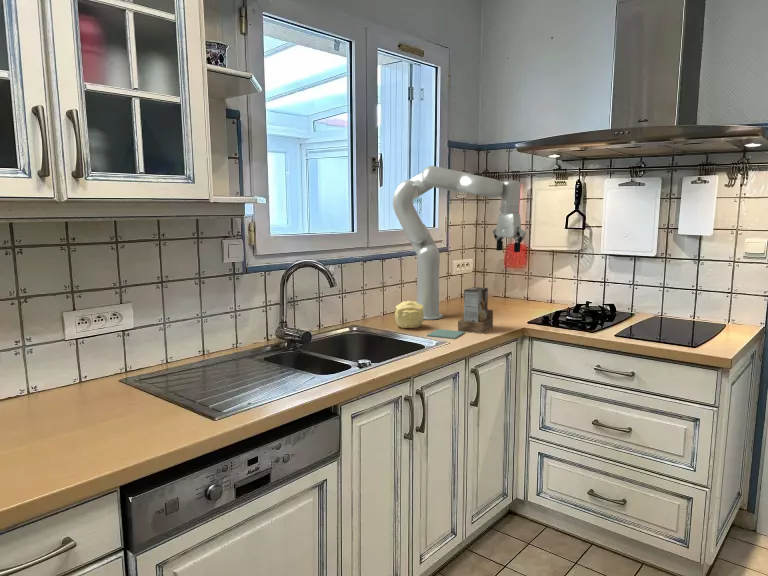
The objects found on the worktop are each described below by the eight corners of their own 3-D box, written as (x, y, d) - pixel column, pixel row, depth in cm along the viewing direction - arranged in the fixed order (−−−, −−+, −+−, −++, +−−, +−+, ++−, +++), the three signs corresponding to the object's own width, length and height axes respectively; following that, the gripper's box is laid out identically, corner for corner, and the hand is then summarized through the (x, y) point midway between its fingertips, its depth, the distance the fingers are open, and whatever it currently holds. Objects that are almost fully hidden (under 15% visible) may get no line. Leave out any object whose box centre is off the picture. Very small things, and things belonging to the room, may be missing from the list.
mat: (427, 336, 209) (427, 334, 209) (437, 330, 218) (437, 329, 218) (455, 339, 204) (455, 337, 204) (464, 333, 213) (464, 331, 213)
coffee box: (472, 326, 226) (473, 286, 224) (487, 327, 223) (488, 287, 220) (463, 330, 218) (463, 289, 216) (478, 332, 215) (479, 290, 212)
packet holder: (457, 331, 217) (458, 313, 216) (468, 324, 228) (468, 307, 227) (483, 333, 212) (483, 315, 211) (492, 327, 224) (493, 309, 223)
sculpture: (395, 330, 218) (395, 303, 217) (394, 324, 230) (394, 298, 229) (425, 330, 219) (425, 303, 217) (421, 323, 231) (422, 298, 229)
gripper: (488, 210, 240) (486, 250, 242) (519, 210, 226) (517, 253, 228) (500, 210, 244) (498, 249, 246) (532, 210, 230) (530, 252, 233)
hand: (508, 251), depth 237 cm, fingers open, 9 cm apart
